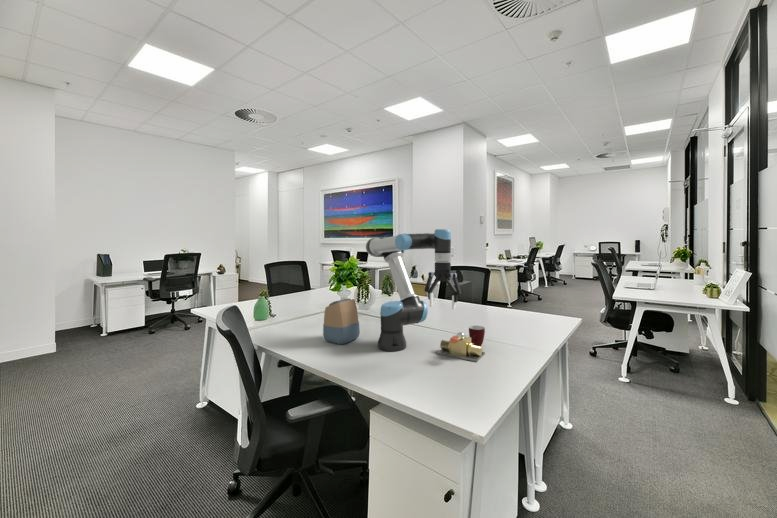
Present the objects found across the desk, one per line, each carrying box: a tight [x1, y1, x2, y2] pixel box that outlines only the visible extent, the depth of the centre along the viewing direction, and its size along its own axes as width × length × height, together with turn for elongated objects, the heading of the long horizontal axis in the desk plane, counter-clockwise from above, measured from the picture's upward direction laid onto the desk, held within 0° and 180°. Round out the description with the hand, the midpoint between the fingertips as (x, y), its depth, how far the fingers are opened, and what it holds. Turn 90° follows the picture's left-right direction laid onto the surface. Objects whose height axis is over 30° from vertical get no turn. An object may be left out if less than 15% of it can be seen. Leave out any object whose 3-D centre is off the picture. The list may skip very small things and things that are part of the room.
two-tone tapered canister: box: [322, 298, 361, 345], centre depth 191 cm, size 17×17×23 cm
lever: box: [449, 332, 465, 344], centre depth 163 cm, size 12×3×3 cm, turn 147°
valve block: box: [436, 334, 486, 363], centre depth 167 cm, size 20×12×8 cm, turn 57°
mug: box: [468, 325, 486, 347], centre depth 177 cm, size 10×8×10 cm
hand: (442, 307), depth 163 cm, fingers open, 11 cm apart
